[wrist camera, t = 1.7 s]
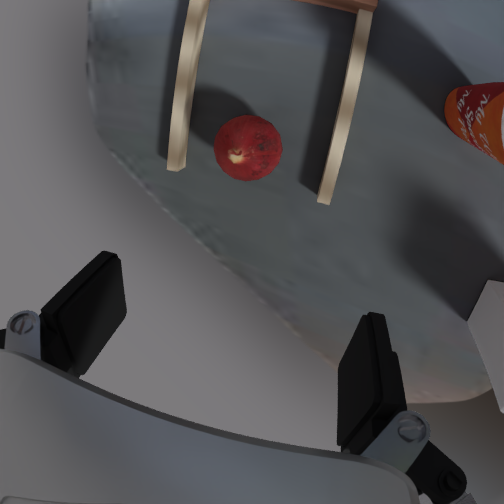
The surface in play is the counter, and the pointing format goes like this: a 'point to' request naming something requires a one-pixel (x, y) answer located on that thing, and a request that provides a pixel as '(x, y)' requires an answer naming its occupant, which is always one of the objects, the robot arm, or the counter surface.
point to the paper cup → (478, 116)
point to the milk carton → (491, 334)
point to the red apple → (247, 147)
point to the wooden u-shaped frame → (363, 5)
